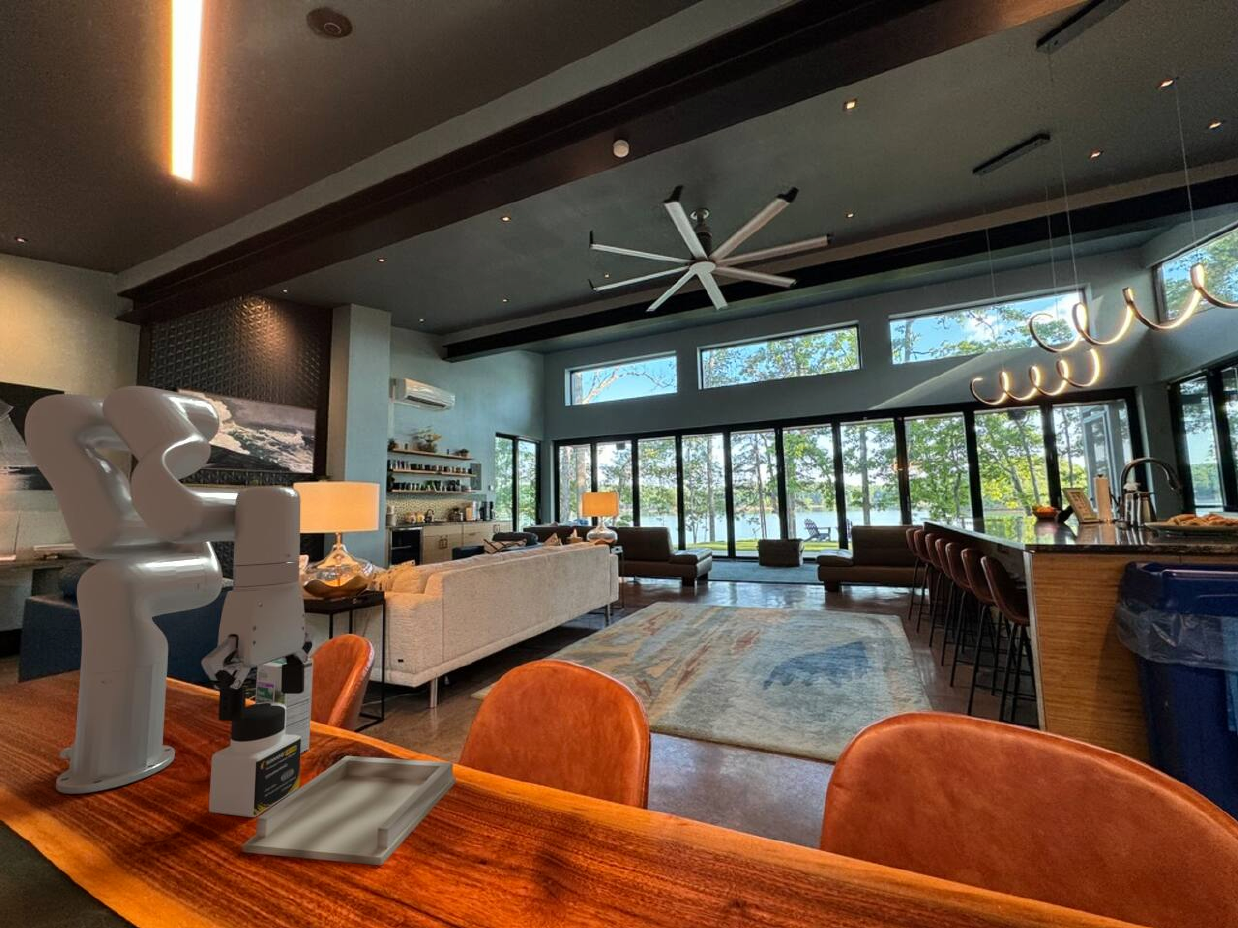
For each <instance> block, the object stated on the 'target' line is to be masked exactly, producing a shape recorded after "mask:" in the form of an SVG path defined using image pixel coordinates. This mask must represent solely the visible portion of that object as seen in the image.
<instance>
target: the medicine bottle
mask: <svg viewBox="0 0 1238 928" xmlns="http://www.w3.org/2000/svg"><path fill="white" fill-rule="evenodd" d="M230 728H231V730H230V746H228V747H226V748H223V749H221V750H219V751H217V752H215V753H213V754H212V755H211V764H210V765H211V766H210V768H211V769H210V784H209V785H210V788H209V803H208V812H210V813H214V814H220V815H221V814H223V815H230V816H237V817H245V818H246V817H247V818H257V817H259V816H260V814H261V815H262V814H263V812H264V813H265V812H266V810H267V811H268V810H269V809H271V808H272V807H274V806H275V805H277V804H278V803H279V802H281V801H282V800H284V799H285V798H287V797H288V796H290V795H291V794H292V793H294V792H295V791H297V790H298V789H300V773H301V772H300V770H301V754H300V751H301V736H299V735H287V734H285V730H286V706H285V705H284V704H283V703H279V702H261V703H256V704H255V703H253V704H250V705H247V706H246V707H245V718H244V719H243V720H241V721H231V727H230Z"/></svg>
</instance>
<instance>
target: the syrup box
mask: <svg viewBox="0 0 1238 928" xmlns="http://www.w3.org/2000/svg"><path fill="white" fill-rule="evenodd" d="M283 664H287V663H286V662H285V661H284V660H283V658H281V659H278V660H275V661H272V662H269V663H267V664H264V665H261V666H258V667H257V671H256V684H255V685H256V687H255V689H256V690H255V703H254V704H256V703H261V702H279V703H283V704H284V705H285V706H286V730H285V734H287V735H299V736H301V751H300V755H301V754H302V753H304V751H305V752H307V751H309V750H310V737H311V736H310V735H311V734H310V733H311V714H312V695H313V694H312V693H313V674H314V673H313V672H314V671H313V670H314V658H308V660H307V662H306V663H303V664H304V691H303V692H302V693H300V694H283V693H282V692H281V673H282V665H283ZM308 749H309V750H308ZM306 750H307V751H306Z"/></svg>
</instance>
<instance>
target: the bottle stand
mask: <svg viewBox="0 0 1238 928" xmlns="http://www.w3.org/2000/svg"><path fill="white" fill-rule="evenodd" d="M441 762H443V763H441ZM453 765H454V763H453V762H448V761H436V760H435V761H433V760H418V759H416V760H415V759H401V758H385V757H370V756H355V755H354V756H353V755H345V756H344V757H343V758H341V759H340V760H338V761H337V762H335V763H334V764H333V765H331V766H330V767H328V768H326V769H325V770H324V771H322V772H321V773H320V774H318V775H317V776H315V777H314V778H313V779H311V780H310V781H308V782H307V783H306V784H304V785H302V786H301V787H299V788H298V789H297V790H296V791H294V792H293V793H291V794H290V795H288V796H287V797H285V798H284V799H282V800H280V801H279V802H277V803H276V804H274V805H273V806H271V807H270V808H268V809H267V811H264V813H261V815H258V816H257V817H256V818H257V822H256V834H255V835H254V836H252V837H251V838H250V839H248V840H247V841H246V842H244V843H243V844H242V853H248V854H249V853H250V854H261V855H269V856H279V857H280V856H282V857H291V858H300V859H312V860H323V861H333V862H342V863H352V864H362V865H363V864H364V865H374V866H382V865H383V864H384V863H385V862H386V861H387V860H388V859H389V858H390V856H392V854H394V852H395V851H396V850H397V849H398V847H400V845H401V844H402V843H403V842H404V841H405V840H406V839H407V838H408V837H409V835H410V834H411V833H412V832H413V831H414V830H415V829H416V828H417V826H419V824H420V823H421V822H422V821H423V820H424V819H425V817H426V816H428V814H429V813H430V812H431V811H432V810H433V809H434V807H436V805H437V804H438V803H439V802H440V800H441V799H443V798H444V796H445V795H446V794H447V793H448V792H449V791H450V789H452V787H453V786H454V785H455V784H456V780H457V779H456V776H453V774H454V773H453V768H454V767H453Z"/></svg>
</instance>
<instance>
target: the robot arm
mask: <svg viewBox="0 0 1238 928" xmlns="http://www.w3.org/2000/svg"><path fill="white" fill-rule="evenodd" d="M24 421H25V422H24V438H25V439H24V441H25V443H26V447H27V450H28V454H29V455H30V457H31V459H32V461H33V462H34V464H35V466H36V467H37V468H38V470H39V471H40V472H41V475H43V477H44V478H45V479H46V480H47V482H48V483H49V485H50V487H51V488H52V490H53V493H54V494H55V497H56V500H57V503H58V506H59V509H60V511H61V514H62V517H63V521H64V522H65V525H66V528H67V531H68V534H69V536H70V539H71V541H72V543H73V546H74V547H75V549H76V550H77V552H78V553H79V554H80V555H81V556H83V557H85V558H88V559H93V560H103V561H101V562H98V563H96V564H95V565H92V566H90V567H89V568H88V569H86V571H85V572H83V573H82V575H81V576H80V578H79V580H78V583H77V585H76V586H77V587H76V599H77V606H78V611H79V616H80V617H79V618H80V622H81V623H80V624H81V660H80V674H79V675H80V677H79V689H78V690H79V691H78V702H77V703H78V704H77V712H76V713H77V714H76V715H77V716H76V729H75V740H74V741H73V743H72V744H71V746H70V747H64V748H63V749H62V750H61V751H60V754H59V757H60V758H61V759H69V768H68V769H66V770H65V771H64V772H62V773H61V774H60V775H59V776H58V777H57V778H56V782H55V783H56V784H55V789H56V790H57V791H58V792H60V793H62V794H67V795H68V794H69V795H74V794H75V795H76V794H91V793H95V792H100V791H101V792H102V791H106V790H110V789H113V788H118V787H121V786H122V787H123V786H125V785H128V784H131V783H135V782H137V781H140V780H143V779H144V778H147V777H149V776H151V775H154V774H156V773H158V772H160V771H161V770H164V769H165V768H166V767H168V766H169V765H170V764H171V763H172V762H173V761H174V759H175V757H176V756H175V754H176V750H175V748H173V747H172V746H169V745H167V744H166V745H164V743H163V741H164V740H163V739H164V724H165V723H164V722H165V712H166V711H165V708H166V696H167V695H166V691H167V678H168V677H167V675H168V661H169V658H168V656H169V643H168V639H167V637H166V636H165V634H164V633H163V631H162V630H161V629H160V628H159V626H157V624H155V622H154V621H153V617H157V616H161V615H164V614H165V615H166V614H167V615H168V614H172V613H178V612H182V611H190V610H193V609H199V608H202V607H205V606H208V605H209V604H211V603H213V602H214V601H215V600H216V599H217V598H218V597H219V595H220V593H221V592H222V588H223V583H224V582H223V581H224V577H223V576H224V575H223V571H222V570H223V569H222V566H221V563H220V561H219V559H218V557H217V554H216V551H215V549H214V546H213V544H212V543H213V542H214V543H215V542H234V543H233V544H234V545H233V573H232V574H233V579H232V590H229V591H227V592H226V596H225V599H224V602H223V603H224V604H223V606H222V611H221V617H220V623H219V627H218V638H217V647H215V648H214V649H213V650H212V651H211V652H209V653H208V654H207V655H205V656H204V657H203V658H202V660H201V666H202V668H203V670H204V672H205V674H206V675H207V676H206V678H207V680H208V681H209V682H210V683H212V684H213V687H214V689H215V690H219V697H218V698H219V703H218V719H219V721H221V722H232V721H241V720H243V719H244V718H245V707H247V706H246V703H247V702H246V701H247V688H246V686H242V684H243V683H244V681H245V679H246V678H247V676H248V674H249V672H250V671H251V669H254V668H258V666H261V665H264V664H267V663H269V662H272V661H275V660H278V659H281V658H283V660H284V661H285V662H286V663H287V664H283V665H282V673H281V692H282V693H283V694H300V693H302V692H303V691H304V664H303V663H306V662H307V660H308V659H309V653H310V651H311V650H312V647H313V642H314V639H315V635H316V633H317V628H316V627H315V626H313V625H310V624H308V623H306V619H305V603H304V596H303V590H302V585H301V584H302V583H301V582H300V572H301V566H300V558H301V557H300V556H301V555H300V552H301V549H300V547H301V546H300V545H301V495H300V493H299V491H298V489H295V488H294V487H288V486H277V485H275V486H251V487H245V488H230V487H229V488H227V487H226V488H225V487H205V486H204V487H199V486H196V487H195V486H186V485H184V484H182V483H181V482H180V481H179V480H181V479H184V478H187V477H189V476H191V475H193V474H195V473H197V472H198V471H199V470H201V469H202V468H203V467H204V466H205V465H206V464H207V462H208V461H209V459H210V457H211V453H212V447H211V445H210V442H211V441H212V440H213V439H214V438H215V437H216V436H217V434H218V432H219V430H220V429H219V428H220V424H221V423H220V416H219V413H218V411H217V409H216V408H215V407H214V405H213V404H212V403H211V402H210V401H208V400H206V399H205V398H202V397H200V396H197V395H193V394H187V393H182V392H177V391H171V390H168V389H167V390H166V389H161V388H156V387H151V386H145V385H144V386H143V385H131V386H123V387H120V388H116V389H115V390H113V391H111V392H110V393H109V394H107V395H106V397H99V396H92V395H83V394H75V393H74V394H69V393H68V394H67V393H61V394H59V393H58V394H53V395H52V394H51V395H47V396H44V397H41V398H39V399H37V400H36V401H35V402H33V404H32V405H30V407H29V409H28V411H27V413H26V417H25V420H24ZM97 449H99V450H108V451H121V452H130V453H131V454H132V455H133V456H134V457H135V459H136V460H137V461H138V462H137V464H136V466H135V467H134V469H133V471H132V473H131V478H130V482H129V479H128V477H127V475H126V474H125V473H124V472H123V471H122V470H121V468H120V467H118V466H117V465H116V464H115V463H114V462H113V461H111V460H109V459H108V458H107V457H105V456H103V455H102V454H101V453H99V452H98V451H96V450H97ZM211 542H212V543H211ZM235 671H236V672H235ZM234 672H235V675H233V674H234Z"/></svg>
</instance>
